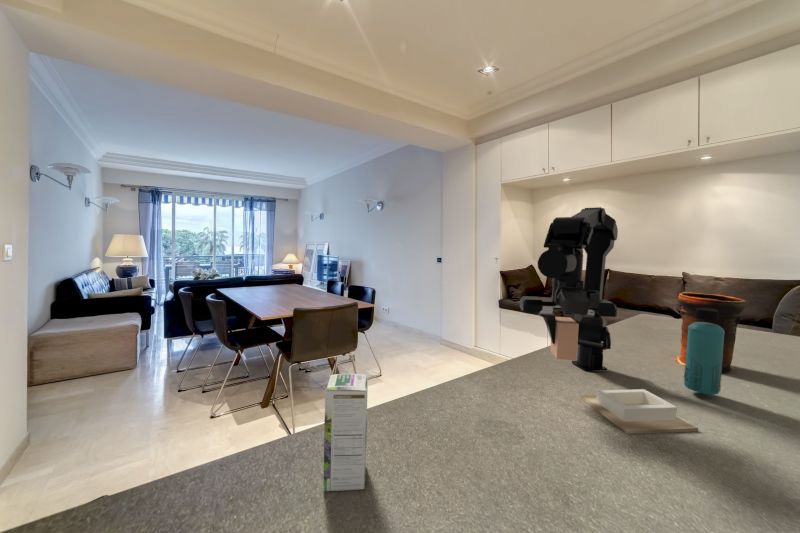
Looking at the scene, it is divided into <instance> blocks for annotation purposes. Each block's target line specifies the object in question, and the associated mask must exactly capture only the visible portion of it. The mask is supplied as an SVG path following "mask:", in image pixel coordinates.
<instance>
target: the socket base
mask: <svg viewBox="0 0 800 533" xmlns="http://www.w3.org/2000/svg"><path fill="white" fill-rule="evenodd" d="M596 398H597V394H594V395H593V394H591V395H590V394H589V395H585V394H584V395H580V399H581V400H582V401H583V402H585V403H586V404H587V405H589V406H590V407H591V408H592V409H594V410H595V411H596V412H598V413H599V414H600V415H602V416H603V417H605V418H606V419H607V420H608V421H610V423H612V424H614V425H615V426H616V427H618V428H619V429H621V430H622V431H623V432H624V433H626V434H627V435H629V434H632V435H633V434H654V433H655V434H657V433H677V432H678V433H683V432H685V433H687V432H699V427H697V426H696V425H694V424H692V423H691V422H689V421H687V420H686V419H683V418H682V417H680V416H678V415H677V414H676V420H656V421H627V422H623V421H622V420H621V419H619V418H618V417H617V416H615V415H614V414H612V413H611V412H610V411H608V410H607V409H606V408H604V407H603V406H601V405H600V404H599V403H597V402H596ZM624 405H625V406H635V405H645V404H643V403H633V404H624Z"/></svg>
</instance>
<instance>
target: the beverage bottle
mask: <svg viewBox="0 0 800 533" xmlns="http://www.w3.org/2000/svg"><path fill="white" fill-rule="evenodd" d="M695 317H696V318H700V319H706V320H719V311H717V310H714V309H707V308H697V309H696V313H695ZM724 333H725V331H724V330H723V329H722V328H721V327H720V326H719V325H716V324H712V323H706V322H694V323H692V324H691V325H689V326H688V340H687V345H686V346H687V350H686V356H685V357H686V359H685V360H686V363H685V365H683V366H684V374H683V384H684V386H685V388H687V389H688V390H690V391H693V392H696V393H699V394H700V393H701V394H704V395H718V394H719V393H720V391H722V390H721V388H722V387H721V385H722V373H721V371H722V368H723V367H722V365H723V364H722V362H723V361H722V359H723V343H724Z"/></svg>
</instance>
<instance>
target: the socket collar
mask: <svg viewBox="0 0 800 533" xmlns="http://www.w3.org/2000/svg"><path fill="white" fill-rule="evenodd" d="M596 395H597V398H596V402H597V403H599V404H600V405H601V406H603V407H604V408H606V409H607V410H608V411H610V412H611V413H612V414H614V415H615V416H617V417H618V418H619V419H621V420H622V421H623V422H627V421H656V420H676V415H677V414H678V412H677V411H678V407H677V406H675V405H673V404H672V403H670V402H668V401H666V400H664V399H663V398H661V397H659V396H657V395H655V394H654V393H652V392H651V391H648V390H647V389H645V388H640V389H638V388H637V389H603V390H601V389H600V390H596ZM633 403H643V404H645V405H635V406H625V405H624V404H633Z"/></svg>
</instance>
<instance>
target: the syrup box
mask: <svg viewBox="0 0 800 533" xmlns="http://www.w3.org/2000/svg"><path fill="white" fill-rule="evenodd" d="M368 379H369V378H368V375H367V374H361V373H337V374H336V373H335V374H330V376H329V380H328V383H327V386H326V390H325V392H324V424H323V426H324V427H323V429H324V431H323V432H324V433H323V435H324V436H323V441H324V442H323V491H324V492H339V491H340V492H341V491H355V490H357V491H358V490H360V491H361V490H365V487H366V484H365V483H366V463H367V461H366V460H367V432H368V431H367V429H368V391H369V390H368V388H369V387H368V385H369V383H368Z"/></svg>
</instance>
